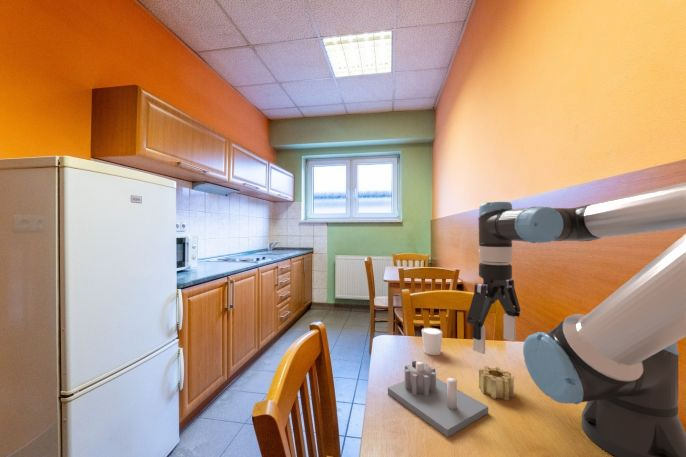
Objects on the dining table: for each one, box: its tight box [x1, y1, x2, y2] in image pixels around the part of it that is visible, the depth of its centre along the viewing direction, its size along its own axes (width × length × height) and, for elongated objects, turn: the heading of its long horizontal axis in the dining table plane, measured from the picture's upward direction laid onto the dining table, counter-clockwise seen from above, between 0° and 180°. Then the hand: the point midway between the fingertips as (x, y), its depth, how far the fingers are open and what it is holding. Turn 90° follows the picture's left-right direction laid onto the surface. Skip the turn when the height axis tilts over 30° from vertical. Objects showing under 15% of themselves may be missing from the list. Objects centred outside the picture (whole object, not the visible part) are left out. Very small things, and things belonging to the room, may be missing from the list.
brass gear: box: [478, 365, 515, 401], centre depth 73 cm, size 8×8×4 cm
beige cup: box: [421, 327, 443, 356], centre depth 97 cm, size 7×7×7 cm
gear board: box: [387, 360, 489, 438], centre depth 68 cm, size 18×14×8 cm
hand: (494, 345), depth 73 cm, fingers open, 13 cm apart
